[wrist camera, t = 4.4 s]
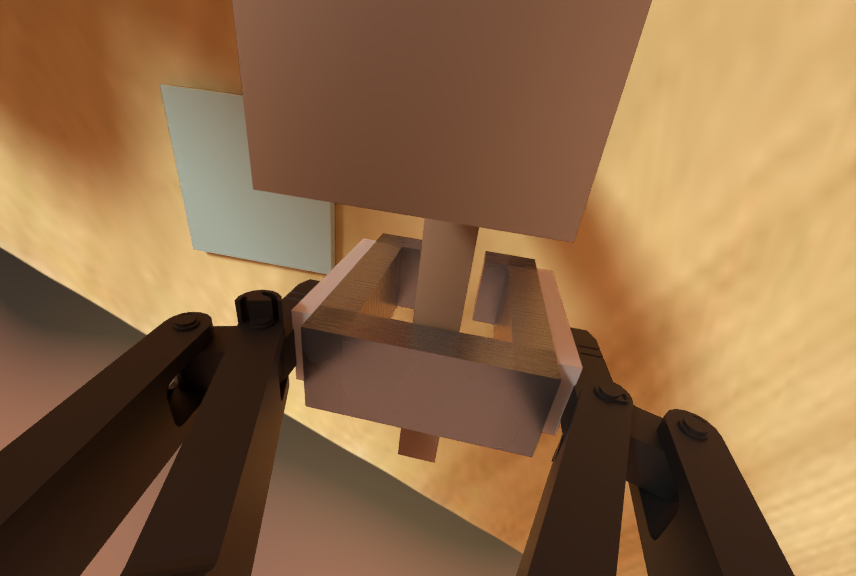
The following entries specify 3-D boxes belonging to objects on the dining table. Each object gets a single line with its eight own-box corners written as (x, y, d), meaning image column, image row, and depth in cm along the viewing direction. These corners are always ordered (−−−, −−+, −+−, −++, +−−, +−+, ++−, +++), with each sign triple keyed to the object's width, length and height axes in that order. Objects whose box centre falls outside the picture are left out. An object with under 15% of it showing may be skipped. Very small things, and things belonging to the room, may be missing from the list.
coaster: (200, 246, 31) (193, 249, 30) (169, 84, 25) (159, 84, 24) (335, 271, 29) (331, 275, 29) (334, 107, 24) (329, 107, 23)
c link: (380, 289, 18) (305, 406, 11) (383, 233, 17) (300, 326, 10) (519, 315, 18) (532, 457, 11) (534, 259, 16) (561, 379, 9)
